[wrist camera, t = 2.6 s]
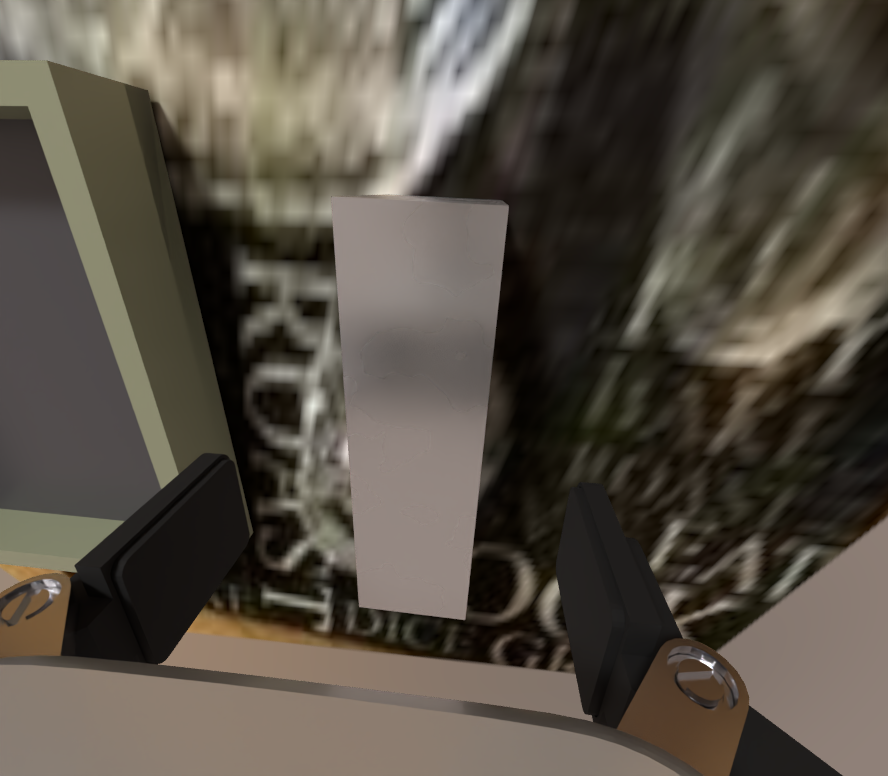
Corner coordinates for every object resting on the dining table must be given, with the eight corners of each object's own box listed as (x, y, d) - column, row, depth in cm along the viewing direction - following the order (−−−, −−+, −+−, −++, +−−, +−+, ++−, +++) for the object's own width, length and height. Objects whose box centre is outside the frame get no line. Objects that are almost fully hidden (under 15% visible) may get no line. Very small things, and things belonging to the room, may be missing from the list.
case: (148, 90, 14) (46, 60, 11) (253, 532, 22) (214, 587, 19) (-259, 86, 15) (-457, 58, 12) (-10, 506, 24) (-86, 554, 21)
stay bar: (501, 200, 14) (508, 205, 9) (471, 507, 20) (465, 619, 15) (389, 194, 15) (331, 196, 9) (393, 498, 21) (359, 606, 15)
